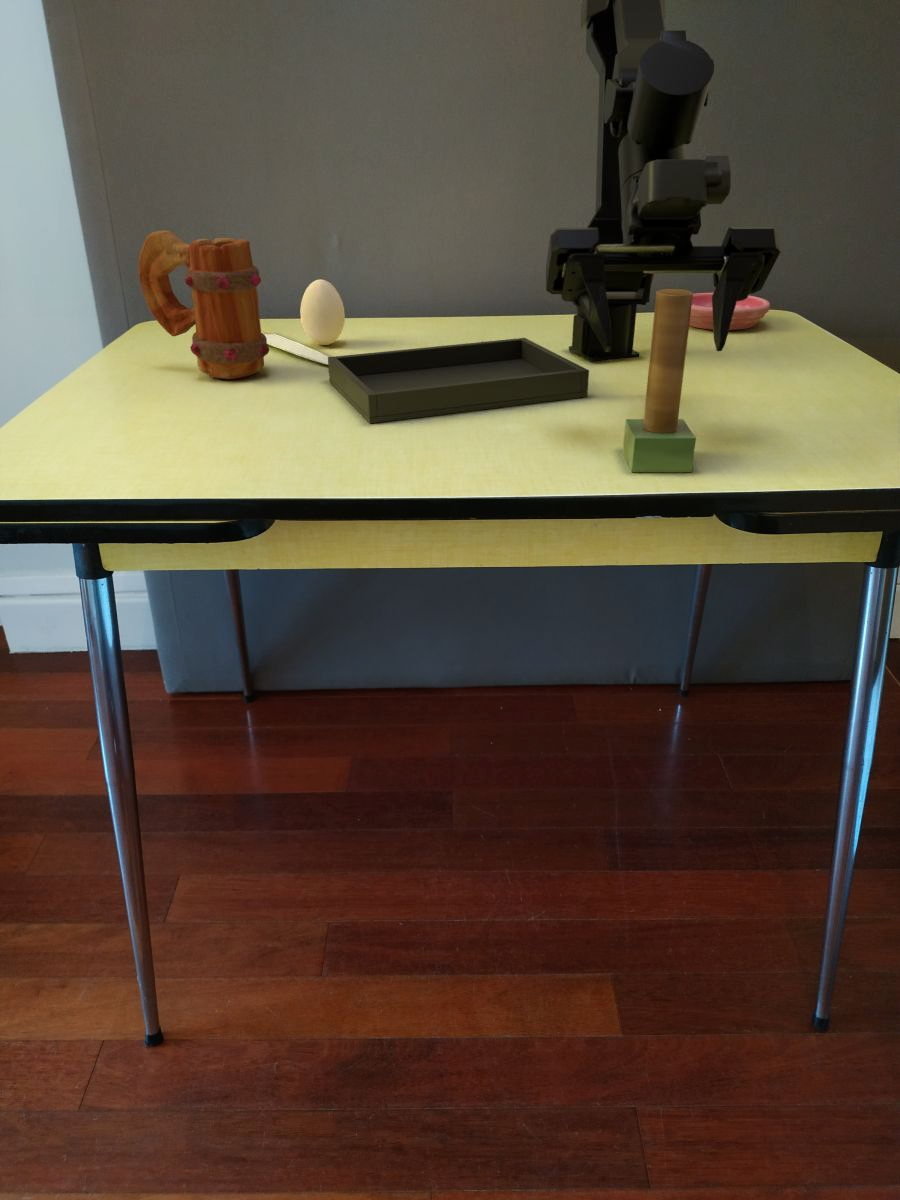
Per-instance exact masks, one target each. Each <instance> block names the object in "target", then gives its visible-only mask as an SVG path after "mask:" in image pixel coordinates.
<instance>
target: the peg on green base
mask: <svg viewBox="0 0 900 1200" xmlns="http://www.w3.org/2000/svg"><path fill="white" fill-rule="evenodd" d="M693 294H694V292H693V291H691V290H688V289H681V288H663V289H659V290H656V293H655V304H654V312H653V323H652V333H651V341H650V342H651V344H650V353H649V363H648V373H647V382H646V392H645V401H644V413H643V414H644V415H643V418H626V419H625V420H624V421H625V422H624V433H623V443H622V445H623V446H622V453H623V456H624V458H625V460H626V463H627V465H628V467H629V470H630V471H631V473H692V472H693V464H694V457H695V456H694V455H695V449H696V441H697V437H696V436H695V434H694V433H693V431H692V430H691V428H690V426H688V425H689V424H687V422H686V420H685V419H683V418H679V416H680V415H679V414H680V407H681V399H682V390H683V381H684V380H683V379H684V372H685V363H686V357H687V348H688V339H689V331H690V325H689V324H690V315H691V307H692V298H693Z"/></svg>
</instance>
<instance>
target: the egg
mask: <svg viewBox="0 0 900 1200" xmlns="http://www.w3.org/2000/svg"><path fill="white" fill-rule="evenodd" d="M299 313H300V322H301V325H302V329H303V330H304V332H305V334H306V335H307V337H308V338H309V339H310V340H311V341H312V342H314V343H315V344H317V345H320V346H329V345H331V344H333V343H334V342H335V341H337V340H338V338H339V337H340V336H341V334H342V332H343V331H344V327H345V321H346V313H345V307H344V303H343V299H342V298H341V296H340V294H339V292H338V290H337V289H336V288H335V286H334V285H333V284H332V283H330V282H329V281H327V280H325V279H316V280H314V281H312V282H311V283H310V284H309V285H308V286H307V287H306V289H305V291H304V293H303V295H302V299H301V301H300V312H299Z"/></svg>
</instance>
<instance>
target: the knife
mask: <svg viewBox="0 0 900 1200" xmlns="http://www.w3.org/2000/svg"><path fill="white" fill-rule="evenodd" d="M261 333H262V334H264V335H265V336H266V338H267V345H269V346H272V347H274V348H276V349H279V350H283V351H285V352H287V353H290V354H293V355H296V356H298V357H300V358H304V359H306V360H310V361H313V362H317V363H320V364H323V365H327V366H328V357H329V356H328V355H326V354H324V353H322V352H321V351H318V350H316V349H314V348H311V347H308V346H306V345H304V344H301V343H299V342H297V341H295V340H292V339H289V338H287V337H284V336H281V335H278V334H275V333H274V332H272V331H268V330H267V331H265V330H261Z"/></svg>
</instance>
